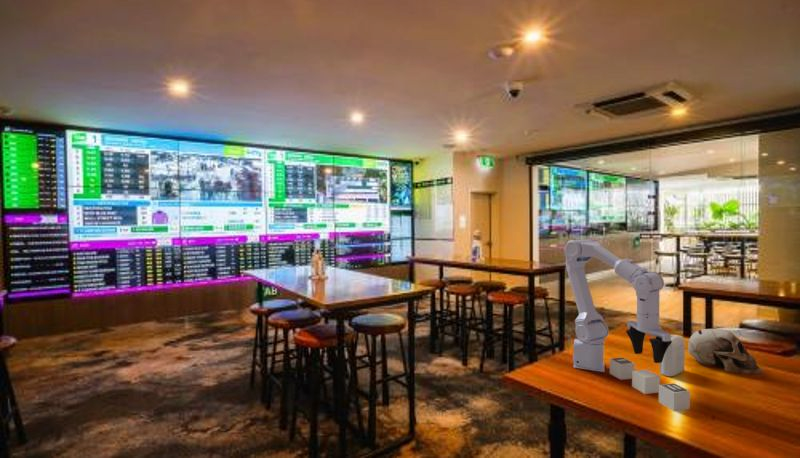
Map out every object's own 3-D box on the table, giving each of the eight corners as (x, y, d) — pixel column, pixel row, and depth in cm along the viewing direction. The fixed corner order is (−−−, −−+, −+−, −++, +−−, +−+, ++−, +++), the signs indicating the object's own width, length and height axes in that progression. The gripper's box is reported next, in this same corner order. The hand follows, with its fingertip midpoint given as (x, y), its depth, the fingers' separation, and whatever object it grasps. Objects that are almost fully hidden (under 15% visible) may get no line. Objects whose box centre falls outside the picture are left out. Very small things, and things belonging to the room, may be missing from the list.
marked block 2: (658, 402, 112) (658, 383, 112) (673, 400, 113) (674, 382, 113) (673, 411, 107) (674, 391, 107) (689, 409, 108) (689, 390, 108)
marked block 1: (609, 373, 132) (609, 357, 132) (622, 372, 133) (623, 356, 133) (620, 379, 127) (620, 363, 127) (634, 378, 128) (634, 362, 128)
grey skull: (769, 373, 130) (764, 333, 130) (717, 380, 129) (713, 340, 129) (727, 357, 145) (723, 321, 145) (681, 363, 145) (677, 327, 145)
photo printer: (671, 366, 137) (672, 331, 136) (686, 370, 133) (687, 334, 133) (657, 373, 131) (658, 336, 130) (672, 378, 128) (673, 340, 127)
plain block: (632, 386, 122) (632, 370, 122) (646, 385, 123) (646, 369, 123) (644, 394, 117) (645, 377, 117) (659, 392, 118) (659, 376, 118)
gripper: (680, 318, 113) (680, 365, 113) (641, 306, 127) (641, 348, 127) (658, 319, 111) (658, 367, 112) (621, 307, 126) (621, 350, 126)
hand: (647, 357), depth 120 cm, fingers open, 7 cm apart
